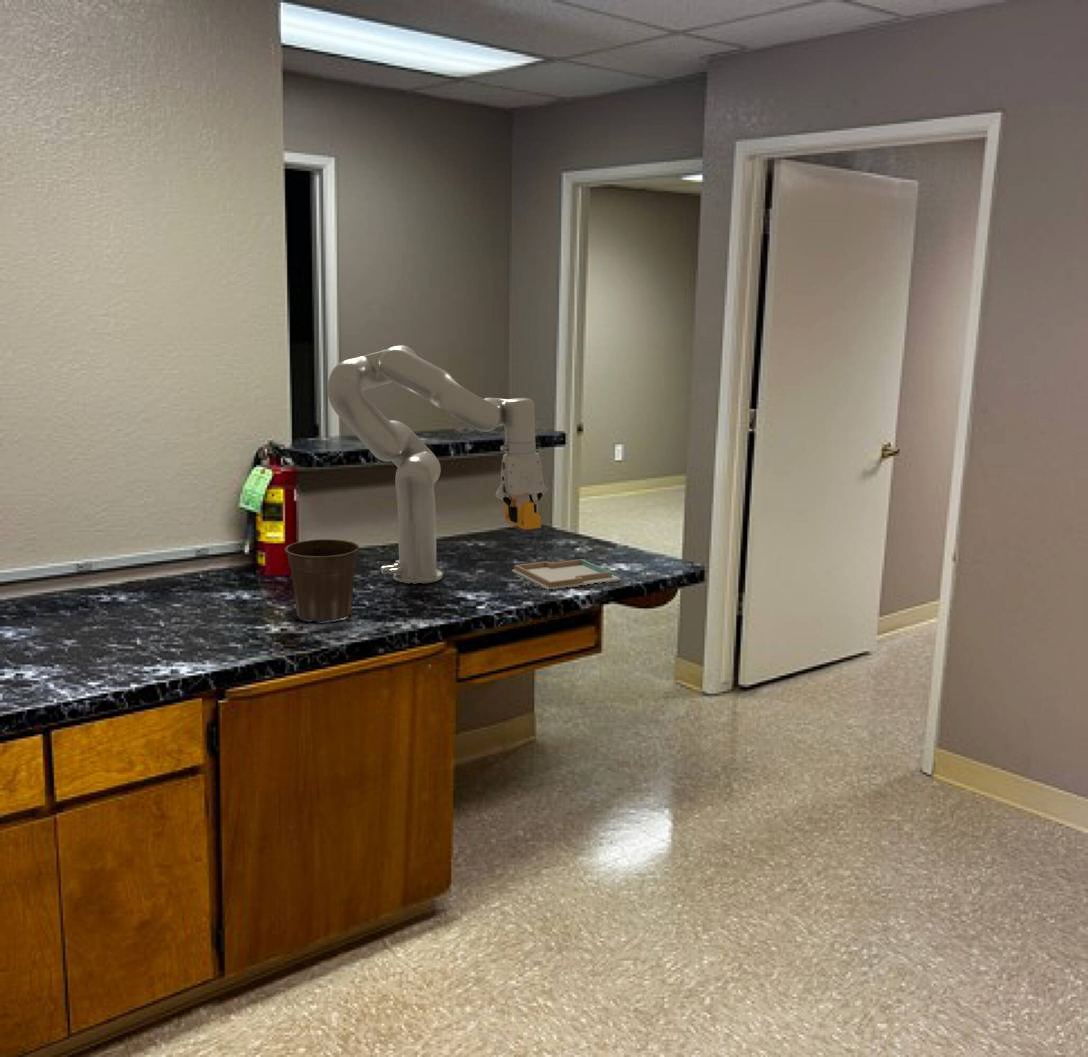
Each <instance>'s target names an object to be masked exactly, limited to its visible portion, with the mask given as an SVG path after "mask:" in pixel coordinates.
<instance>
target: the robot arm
mask: <svg viewBox="0 0 1088 1057" xmlns="http://www.w3.org/2000/svg"><path fill="white" fill-rule="evenodd" d="M392 383H394V384H395V385H398V386H399V387H401V388H404V389H405V390H408V391H409V392H411V393H413V394H415V395H417V396H418V397H420V398H422V399H424V400H426V401H427V402H428V403H431V404H433V406H434V407H436V408H439V409H440V410H442V411H443V412H444V413H446V414H447V415H449V416H450V417H452V418H454V419H456V420H458V421H460V422H462V423H463V424H465V425H467V426H469V427H471V428H472V429H475V430H477V431H480V432H486V433H487V432H491V431H493V430H495V429H496V428H498V427H502V426H504V443H503V445H500V448H499V449H500V451H501V452H504V453H505V454H503V456H502V461H501V470H500V485H499V486H498V488H497V490H496V492H495V493H494V496H495V497H496V498H498V499H500V500H501V501H503V502H505V503H506V504H507V505H508V515H509V519H510V521H512V522H514V523H515V522H517V507H516V506H515V502H516V497H517V496H523V495H525V496H526V495H527V496H528V502H533V503H534V513H537V514H538V512H537V511H538V510H537V509H538V508H537V506H538V504H539V501H540V500H541V498H542V497H543V496H544V495H545V494H546V493H547V492H548V491H549V488H548V487H547V484H546V483H545V482H544V473H543V467H542V460H541V457H540V453H539V452H537V451H536V450H537V448H536V447H537V446H536V423H535V422H536V420H535V417H536V416H535V414H536V413H535V402H534V401H533V399H530V398H528V397H527V398H526V397H518V398H509V399H508V398H498V397H485V398H483V397H481V396H479V395H477V394H475V393H474V392H471V391H469V390H468V389H467V388H465V387H463V386H462V385H461V384H459V383H458V382H456V380H455V379H454V378H453V376H452V375H451V374H450V373H448V371H446V370H444V369H442V368H440V367H439V366H437V365H435V364H433V363H432V362H429V361H427V360H425V359H424V358H422V357H420V356H418V355H417V353H416V352H415V351H414V349H412V348H410V347H409V346H407V345H395V346H392V347H389V348H386V349H383V350H381V351H377V352H373V353H369V354H365V355H361V356H357V357H353V358H349V359H344V360H342V361H340V362H339V363H338V364H336V365H335V367H334V368H333V369H332V371H331V372H330V374H329V377H328V381H327V398H328V401H329V403H330V405H331V407H332V409H333V410H334V413H336V415H337V416H338V417H339V418H340V419H341V420H342V421H343V423H344V424H345V425H346V426H347V427H348V428H349V429H350V430H351V432H353V434H354V435H355V436H356V437H357V438H358V439H359V441H361V442H362V444H363V445H364V446H365V447H366V448H367V449H368V450H369V452H371V453H372V455H373V456H374V457H375V458H376V459H378V460H380V461H382V462H387V463H388V462H392V463H393V464H394V465H395V466H396V467H397V469H396V472H395V480H394V481H395V483H394V484H395V492H396V500H397V501H396V502H397V520H398V521H397V524H398V525H397V526H398V530H397V532H398V560H397V559H396V560H395V563H393V564H392V565H382V566H380V572H381V574H382V575H383V574H389V575H393V576H392V577H393V579H394V581H396V582H398V581H399V582H398V583H402V582H403V583H404V584H410V583H413V584H416V585H417V583H422V584H430V583H435V582H438V581H440V580H442V579H443V577H444V576H443V574H444V573H443V571H441V570H439V569H438V568H437V518H436V515H437V514H436V512H437V511H436V498H435V483H436V482H437V481H438V480H439V478H440V475H441V469H442V468H441V462H440V460H439V459H438V457H436V455H435V454H434V452H433V451H432V450H431V449H430V448H429V447H428V446H427V445H426V444H425V443H424V442H423V440H421V439H420V438H419V436H418V435H417V434H416V433H415V432H414V431H413V430H412V429H411V428H410V427H409V426H408V425H406V424H405V423H403V422H401V421H399V420H389V419H388V418H387V417H386V416H385V415H384V414H383V413H382V412H381V411H380V409H379V408H378V407H377V406H376V405H375V404H374V403H372V402H371V401H370V400H369V399H368V398H367V397H366V396H365V394H364V391H367V390H370V389H374V388H377V387H381V386H385V385H388V384H392ZM505 494H507V497H506V495H505Z"/></svg>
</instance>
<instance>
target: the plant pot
mask: <svg viewBox="0 0 1088 1057" xmlns="http://www.w3.org/2000/svg"><path fill="white" fill-rule="evenodd" d="M359 550H360V546H359V544H357V543H355V542H354V541H349V540H344V539H343V540H342V539H328V538H327V539H326V538H325V539H323V538H322V539H310V540H304V541H298V542H294V543H293V542H292V543H291V544H289V545H286V547H284V552H285V553H286V554H287V559H288V566H289V568H290V571H291V579H292V587H293V595H294V603H295V611H296V613H295V614H296V617H297V616H298V617H299V618H302V619H305V620H316V621H320V620H321V621H327V620H336V619H340V618H344V617H347V616H349V615H350V614H351V615H352V610H353V609H352V607H353V593H354V592H353V591H354V577H355V566H357V557H358V551H359ZM349 617H350V616H349ZM316 621H315V622H316Z"/></svg>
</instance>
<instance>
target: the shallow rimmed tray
mask: <svg viewBox="0 0 1088 1057" xmlns="http://www.w3.org/2000/svg"><path fill="white" fill-rule="evenodd" d="M513 568H514V569H512V570H511V572H512V573H514V574H516V575H518V576H520V577H521V578H523V579H525V580H527V581H529V582H531V583H532V584H535V585H537V586H539V585H540V586H539V587H541V588H543V589H544V588H545V590H546V589H547V591H550V590H549V589H553V590H559V589H558V588H561V589H567V588H566V587H568V588H574V587H580V586H579V585H583V586H588V585H587V584H590V585H595V584H594V583H598V584H603V583H602V582H605V583H611V582H618V581H621V578H620V577H618V576H617V575H614V574H613V572H612V571H610V570H608V569H606V568H603V567H601V566H599V565H597V564H594V563H592V562H590V561H587V560H585V559H582V558H580V559H572V560H564V561H557V562H556V561H555V562H549V561H547V560H545V561H538V562H530V563H522V564H521V563H520V564H514V565H513Z"/></svg>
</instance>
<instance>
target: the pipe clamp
mask: <svg viewBox="0 0 1088 1057" xmlns="http://www.w3.org/2000/svg"><path fill="white" fill-rule="evenodd" d="M505 496H506V495H505ZM506 497H507V496H506ZM517 499H518V498H517V496H516V502H515V506H516V507H517V522H515V523H514V522H512V521H510V519H509V515H508V505H507V504H506V503H505V502H504V501H503V502H504V504H503V505H504V522H505V523H508V524H510V525H513V526H516V527H517V528H521V529H522V530H525V531H526V530H534V529H541V528H542V518H541V516H542V515H541V514H539V513H538V512H537V513H534V503H533V502H529V501H525V502H520V508H519V504H518V501H517Z"/></svg>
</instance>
